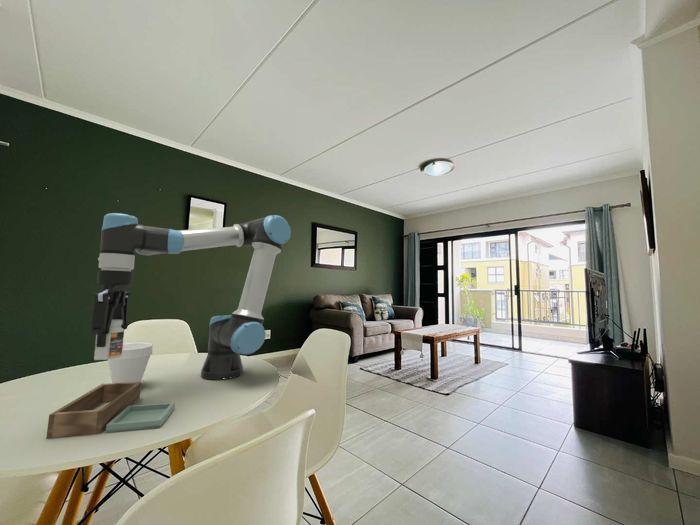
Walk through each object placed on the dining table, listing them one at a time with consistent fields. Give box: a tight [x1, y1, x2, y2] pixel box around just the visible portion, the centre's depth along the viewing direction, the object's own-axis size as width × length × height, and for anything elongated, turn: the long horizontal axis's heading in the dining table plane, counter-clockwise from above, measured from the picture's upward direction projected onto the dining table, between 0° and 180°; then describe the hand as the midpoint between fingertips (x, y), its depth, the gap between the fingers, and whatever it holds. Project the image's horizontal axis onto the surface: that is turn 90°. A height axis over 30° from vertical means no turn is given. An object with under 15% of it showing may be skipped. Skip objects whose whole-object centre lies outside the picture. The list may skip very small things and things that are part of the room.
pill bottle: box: [93, 319, 125, 361], centre depth 76 cm, size 6×6×10 cm
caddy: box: [45, 381, 142, 439], centre depth 74 cm, size 10×21×5 cm, turn 16°
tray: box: [105, 402, 176, 434], centre depth 72 cm, size 11×11×2 cm
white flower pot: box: [107, 342, 154, 383], centre depth 95 cm, size 12×12×14 cm
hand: (108, 356), depth 75 cm, fingers closed on pill bottle, 6 cm apart
